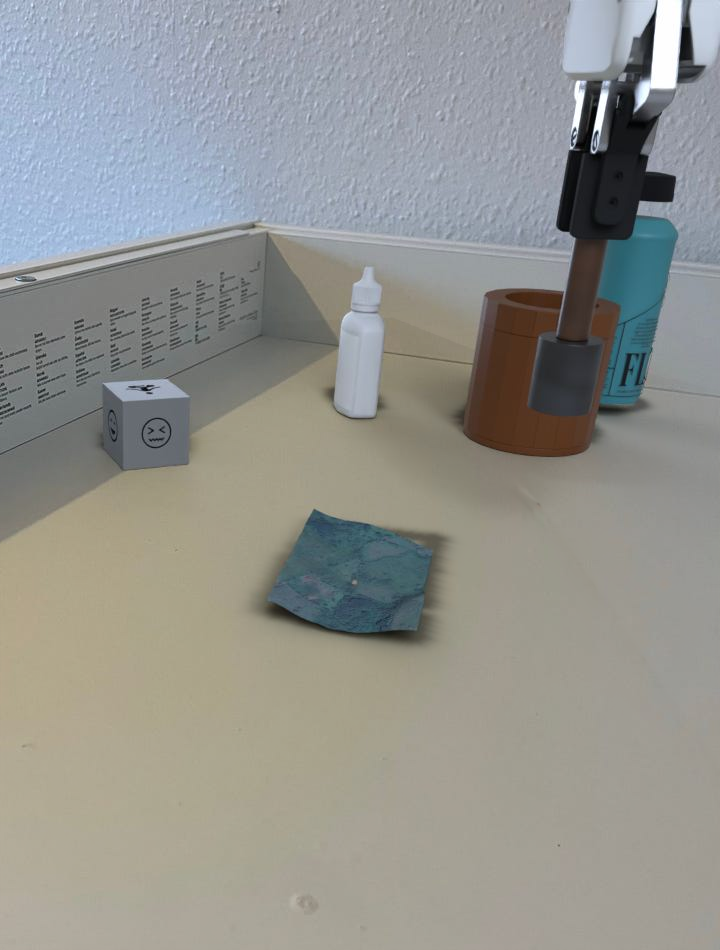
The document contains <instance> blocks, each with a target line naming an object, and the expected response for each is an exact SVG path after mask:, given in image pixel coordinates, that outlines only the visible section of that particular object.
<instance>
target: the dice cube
mask: <svg viewBox="0 0 720 950" xmlns="http://www.w3.org/2000/svg"><path fill="white" fill-rule="evenodd" d="M101 387H102V388H101V389H102V435H103V436H102V437H103V439H102V440H103V441H102V442H103V445H102V446H103V450H104V451H105V452H106V453H107V454H108V455H109V457H110V458H111V459H112V460H113V461H114V462H115V463H116V464H117V465H118V466H119V467H120V468H121V469H122V471H130V470H140V469H150V468H160V467H171V466H181V465H189V463H190V462H189V459H190V458H189V457H190V456H189V454H190V421H191V420H190V418H191V417H190V413H191V396H189V395H188V394H187V393H186V392H184V391H183V390H182V389H180V388H179V387H178V386H177V385H176V384H174V383H172V381H170V380H169V379H167V378H163V379H162V378H160V379H159V378H158V379H144V380H143V379H141V380H127V381H112V382H101Z"/></svg>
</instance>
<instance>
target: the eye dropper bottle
mask: <svg viewBox="0 0 720 950" xmlns="http://www.w3.org/2000/svg"><path fill="white" fill-rule="evenodd" d="M382 292H383V286H382V284H380V283H379V282H377V281H376V278H375V267H373V266H365V267H364V270H363V273H362V277H361V279H360V280H359V281H356V282H354V283H353V284H352V291H351V301H350V309H351V310H350V311H349V312H347V313H346V314H345V315H344V316H343V317H342V320H341V325H340V332H339V334H340V335H339V343H338V352H337V365H336V373H335V385H334V396H333V406H334V408H335V410H336V411H337V412H339V413H340V414H341V415H343V416H345V417H347V418H350V419H373V418H375V417H376V415H377V410H378V404H379V403H378V402H379V395H380V394H379V392H380V385H381V378H382V370H383V369H382V368H383V361H384V352H385V351H384V350H385V349H384V348H385V343H386V341H385V340H386V324H385V321H384V320H383V317H382V316H381V315H380V313H379V311H380V310H381V301H382Z"/></svg>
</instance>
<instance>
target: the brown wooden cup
mask: <svg viewBox="0 0 720 950" xmlns="http://www.w3.org/2000/svg"><path fill="white" fill-rule="evenodd" d="M563 294H564V290H555V289H546V288H529V287H527V288H526V287H524V288H522V287H519V288H517V287H516V288H515V287H513V288H511V287H510V288H500V289H499V288H498V289H493V290H490V291H486V292H485V293H484V295H483V300H482V306H481V312H480V318H479V325H478V329H477V336H476V342H475V349H474V356H473V361H472V367H471V372H470V373H471V374H470V380H469V385H468V392H467V397H466V404H465V411H464V417H463V427H462V431H463V433H464V435H465V436H466V437H467V438H469V440H472V441H473V442H476V443H477V444H480V445H482V446H485V447H488V448H491V449H494V450H498V451H502V452H506V453H512V454H517V455H523V456H524V455H525V456H533V457H566V456H572V455H577V454H580V453H583V452H586V451H587V450H588V449H589V447H590V445H591V441H592V438H593V434H594V431H595V429H594V428H595V425H596V421H597V416H598V413H599V407H600V404H601V403H600V399H601V395H602V390H603V386H604V382H605V377H606V373H607V369H608V364H609V360H610V355H611V351H612V347H613V342H614V338H615V333H616V329H617V325H618V320H619V316H620V312H621V306H620V305H618V304H616V303H615V302H612V301H609V300H606V299H603V298H599V297H597V300H596V305H595V310H594V315H593V320H592V325H591V330H590V335H594V336H597V337H600V338H602V339H603V340H604V341H605V345H604V350H603V354H602V359H601V364H600V369H599V374H598V378H597V383H596V388H595V393H594V397H593V402H592V407H591V412H590V413H589V414H587V415H584V416H577V417H563V416H554V415H548V414H543V413H540V412H537V411H534V410H532V409H531V408H529V407H528V405H527V402H528V396H529V391H530V385H531V379H532V374H533V368H534V362H535V357H536V351H537V345H538V340H539V335H540V334H542V333H545V332H553V331H557V326H558V321H559V315H560V310H561V305H562V299H563Z"/></svg>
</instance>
